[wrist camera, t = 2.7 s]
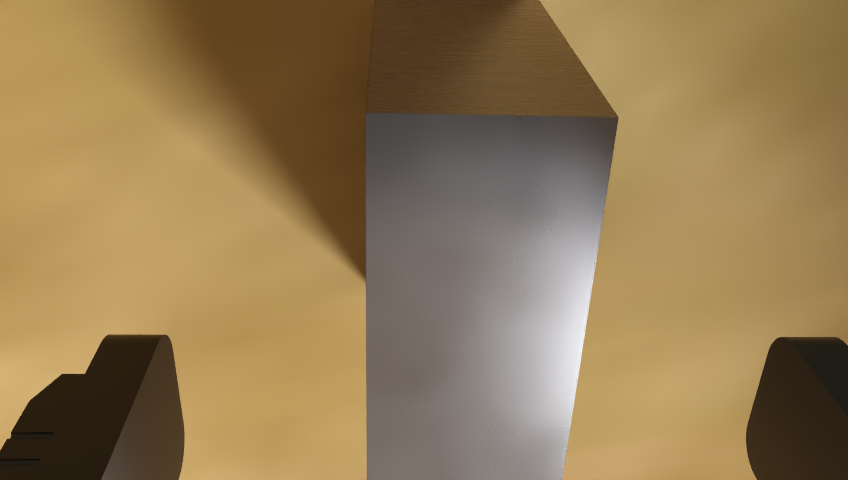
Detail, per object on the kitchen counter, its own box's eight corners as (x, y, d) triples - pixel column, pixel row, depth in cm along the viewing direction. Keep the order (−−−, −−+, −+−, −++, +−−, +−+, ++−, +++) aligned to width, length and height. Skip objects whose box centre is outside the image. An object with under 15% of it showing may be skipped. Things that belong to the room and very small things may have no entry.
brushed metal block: (376, -16, 16) (365, 112, 10) (531, -12, 16) (618, 117, 10) (375, 291, 19) (366, 530, 13) (502, 292, 19) (554, 529, 13)
